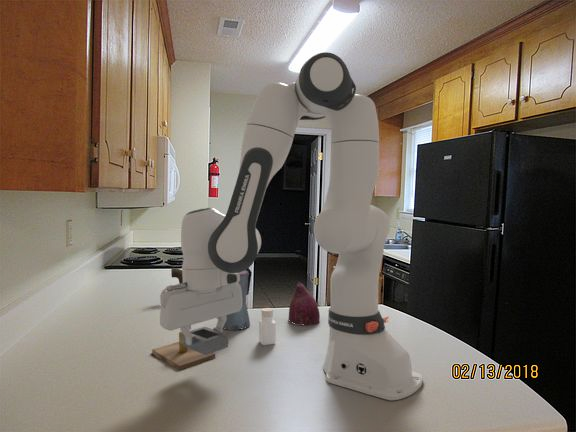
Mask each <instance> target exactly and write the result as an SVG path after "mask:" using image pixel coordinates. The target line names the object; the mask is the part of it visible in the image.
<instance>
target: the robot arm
mask: <svg viewBox="0 0 576 432" xmlns="http://www.w3.org/2000/svg"><path fill="white" fill-rule="evenodd" d="M356 91H357V86H356V83H355V82H354V80H353V78H352V77H351V73H350V72H349V68H348V67H347V65H346V63H345V62H344V60H343V59H342V58H341V57H339V56H338V55H337V54H336V53H335V54H334V53H332V52H319V53H316V54H314V55H312V56H311V57H309V58H308V59H307V60H306V61H305V62H304V63H303V65H302V67H301V68H300V70H299V74H298V76H297V78H296V80H295V82H293V83H291V84H285V83H282V82H270V83H269V82H268V83H266V84H264V85H263V86H262V87H261V88H260V90H259V92H258V94H257V96H256V98H255V100H254V102H253V105H252V108H251V110H250V113H249V116H248V119H247V122H246V126H245V128H244V134H243V138H242V144H241V153H240V160H239V161H240V162H239V170H238V176H237V178H236V182H235V185H234V189H233V192H232V195H231V199H230V202H229V205H228V208H227V212H226V214H224V213H222V212H220V211H219V210H217V208H214V207H206V208H200V209H196V210H191V211H189V212H187V213H186V214H185V215H184V216H182V217H183V218H182V221H181V228H180V229H181V230H180V231H181V232H180V248H181V249H180V250H181V252H182V256H183V258H182V259H183V261H182V264H181V270H182V277H183V283H180V284H179V283H176V284H170V285H167V286H166V287H165V288H164V289H162V292H161V293H160V296H159V297H160V311H159V324H160V326H161V327H162V328H163V329H165V330H167V331H170V332H171V331H175V330H178V329H180V332H181V331H182V332H183V334H184V335H185V336H186V344H187V345H192V344H195V343H196V341H195V339H196V336H194V335H191V333H190V332H189V331H192V325H196V324H201V323H203V322H206V321H210V320H214V319H217V323H216V324H215V326H214V327H213V328H212V329H214V330H217V331H220V332H223V333H224V328H223V327H224V324H225V322H226V320H227V318H226V315H228V314H232V313H235V312H239V311H240V310H241V308H242V304H243V302H242V290H241V286H240V285H239V284H238V282H239V281H240V275H239V274H237V273H239V272H242V271H244V270H246V269H248V268H249V269H250V267H251V266H252V265H253V263H254V262H255V261H256V259H257V255H258V254H259V252H260V250H261V247H262V236H261V234H260V231H259V230H258V228H257V221H258V217H259V214H260V211H261V207H262V204H263V201H264V197H265V194H266V191H267V188H268V186H269V184H270V182H271V181H272V179H273V177H274V176H275V175H276V174H277V173H278V171H280V169H282V167H283V165H284V164H285V162H286V160H287V158H288V155H289V154H290V150H291V148H292V144H293V141H294V137H295V133H296V129H297V127H298V124H299V121H306V120H307V121H309V120H311V121H318V120H322V119H325V118H326V120H327V121H328V123H329V126H330V131H331V132H330V175H329V182H328V183H329V184H328V187H327V188H328V189H327V192H326V196H325V201H324V203H323V206H322V209H321V211H320V213H319V214H318V216H317V217H316V219H315V221H314V224H313V235H314V239H315V241H316V243H317V245H318V246H319V247H320V248H322V249H323V250H325V251H326V252H329V253H332V254H336V255H338V257H337V261H336V265H335V267H334V269H333V271H332V272H331V274H330V285H329V286H330V288H329V289H330V293H329V295H330V296H329V297H330V307H329V308H328V313H327V314H328V318H327V319H328V320H327V321H328V323H327V324H328V326H329V335H328V344H327V349H326V355H325V358H324V362H323V365H322V366H323V367H322V368H323V372H324V373H325V381H326V382H327V383H329V384H333V385H335V386H340V387H342V388H345V389H346V388H347V389H348V390H349V389H350V390H353V391H356V392H360V393H363V394H366V395H370V396H372V397H376V398H380V399H384V400H385V401H397V400H401V399H405V398H406V397H409V396H411V395H413V394H414V393H416V392H417V391H418V390H419V389H420V388H422V385H423V376H422V374H421V373H419V372H417V371H414V370H413V367H412V361H411V357H410V354H409V352H408V350H407V349H406V348H405V347H404V346H403V345H401V344H400V342H399V341H398V340H396V339H395V337H393V335H392V334H391V333H389V332H388V330H387V329H386V326H385V323H388V322H389V320H388V319H389V316H386V317H382V314H381V312H380V310H379V283H380V282H379V279H380V271H381V267H382V266H381V265H382V260H383V256H384V250H385V245H386V240H387V237H388V236H389V233H390V230H391V229H390V228H391V224H390V223H391V222H390V218H389V217H388V215H387V214H386V213H385V211H384V210H382V209H381V208H379V207H378V206H376V205H373V204H372V199H373V194H374V190H375V187H376V184H377V183H378V181H379V178H380V127H379V119H378V112H377V107H376V104H375V102H374V101H373V100H372V99H371V97H369V96H367V95H364V94H357V93H356Z"/></svg>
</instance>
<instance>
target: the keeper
mask: <svg viewBox="0 0 576 432" xmlns="http://www.w3.org/2000/svg"><path fill="white" fill-rule="evenodd" d="M178 337H179V338H178V341H177V342H174V343H170V344H166V345H164V346H160V347H156V348H153V349H152V351H151V352H152V355H154V356H155V357H158V358H159V359H160V360H163V361H164V362H166V363H168V365H171V366H172V367H174V368H176V369H177V370H179V371H182V370H185V369H187V368H190V367H192V366H196V365H198V364H201V363H203V362H206V361H207V362H208V361H209V360H213V359H216V353H215V352H213V353H211V354H208V355H204V354H201V353H199V352H197V351H194V350H192V349H189V348H187V347H185V346H183V332H182V331H181V330H180V331H179V332H178Z"/></svg>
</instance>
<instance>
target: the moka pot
mask: <svg viewBox="0 0 576 432" xmlns="http://www.w3.org/2000/svg"><path fill="white" fill-rule="evenodd" d="M237 274H239V275H240V281H239V282H238V284H239V285H240V286H241V290H242V302H243V304H242V308H241V310H240V311H239V312H235V313H232V314H228V315H226V318H227V320H226V322H225V324H224V327H223V329H224V328H225V330H226V329H228V330H227V331H237V330H236V329H241V328H245V327H247V326H248V327H250V325H251V322H250V317H249V311H248V306H247V295H249V294H250V287H251V280H252V271H251V269H250V267H249V268H248V269H246V270H244V271H242V272H239V273H237ZM248 327H247V328H248ZM245 329H246V328H245ZM241 330H242V329H241Z"/></svg>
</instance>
